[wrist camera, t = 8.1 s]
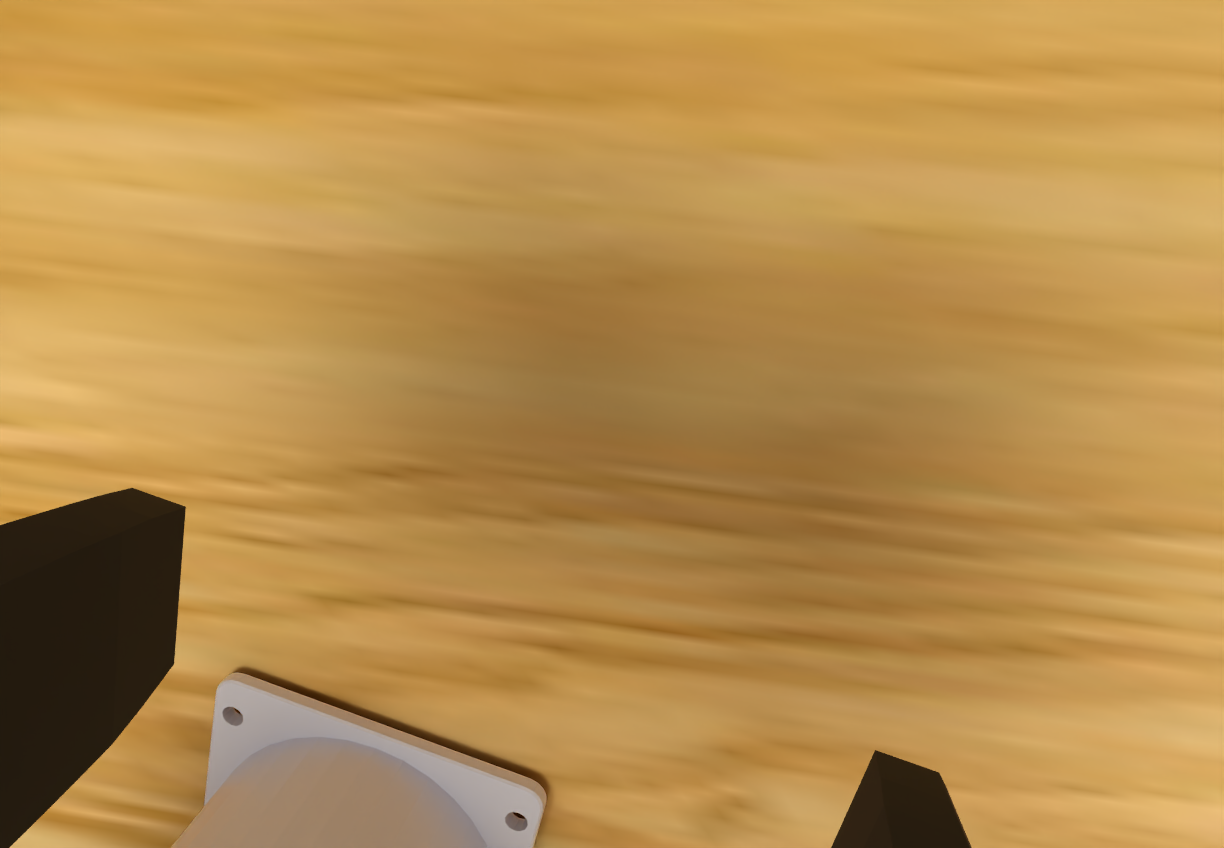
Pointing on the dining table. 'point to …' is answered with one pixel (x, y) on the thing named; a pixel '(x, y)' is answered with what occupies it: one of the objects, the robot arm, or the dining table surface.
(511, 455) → the dining table surface
